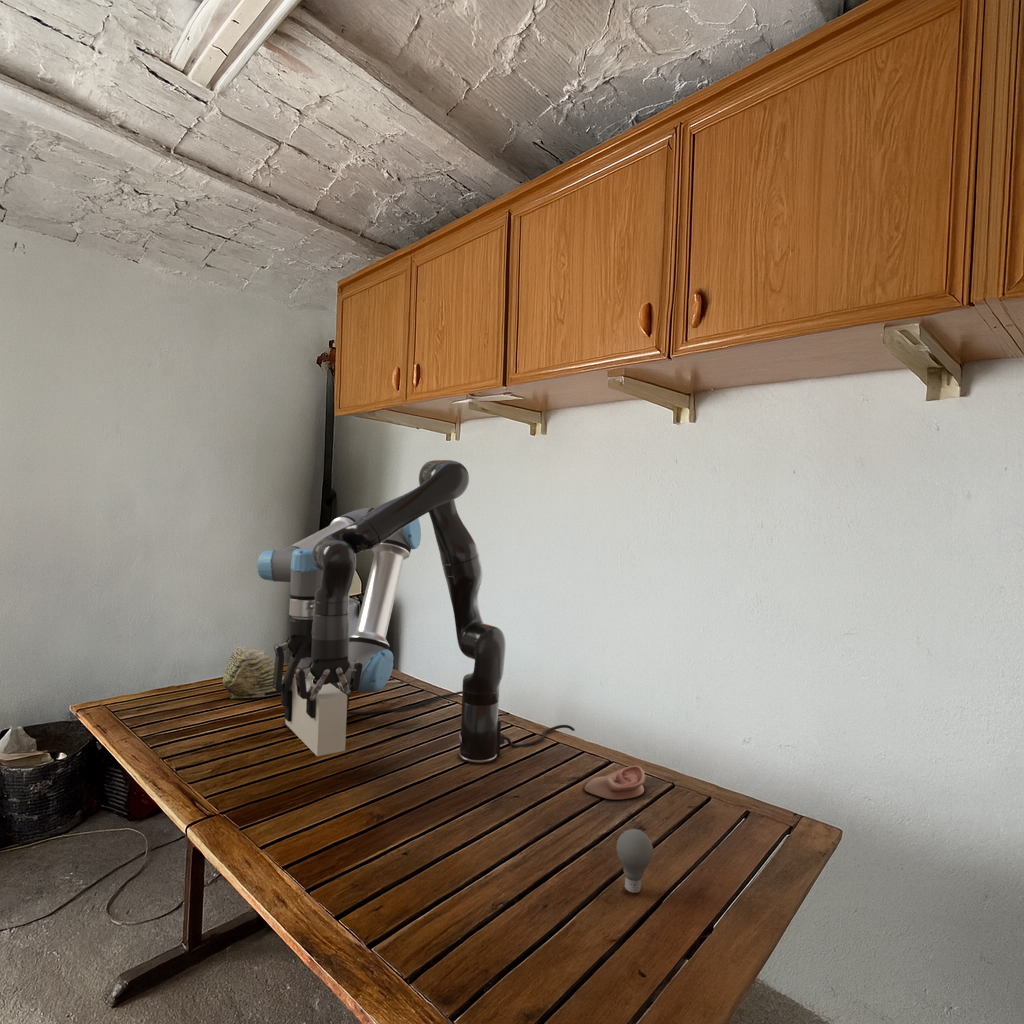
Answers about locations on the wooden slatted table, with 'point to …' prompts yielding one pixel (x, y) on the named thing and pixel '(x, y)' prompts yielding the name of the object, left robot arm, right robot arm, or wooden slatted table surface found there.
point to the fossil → (249, 674)
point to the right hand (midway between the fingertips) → (327, 714)
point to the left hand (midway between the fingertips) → (302, 716)
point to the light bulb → (634, 857)
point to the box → (320, 719)
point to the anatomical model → (618, 784)
